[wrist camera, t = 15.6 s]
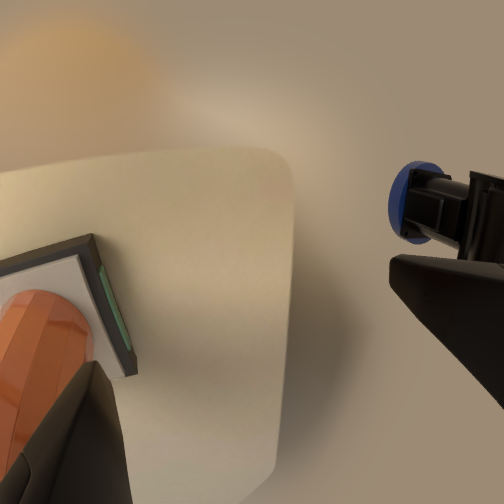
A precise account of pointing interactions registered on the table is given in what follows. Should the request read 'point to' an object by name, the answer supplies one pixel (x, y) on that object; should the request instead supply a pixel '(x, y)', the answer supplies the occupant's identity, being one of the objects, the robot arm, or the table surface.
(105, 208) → the table surface
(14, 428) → the cup
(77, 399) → the robot arm
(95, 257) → the scale
